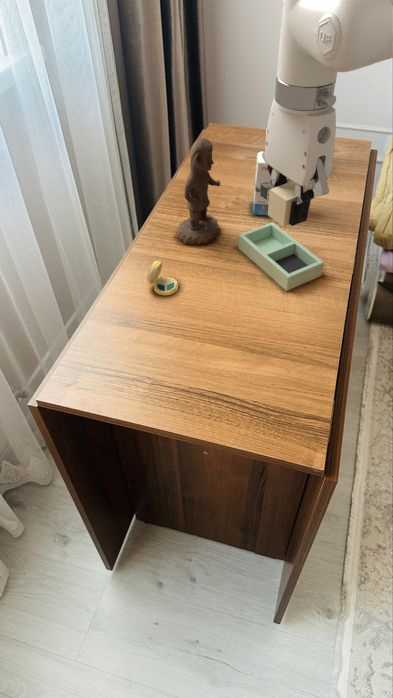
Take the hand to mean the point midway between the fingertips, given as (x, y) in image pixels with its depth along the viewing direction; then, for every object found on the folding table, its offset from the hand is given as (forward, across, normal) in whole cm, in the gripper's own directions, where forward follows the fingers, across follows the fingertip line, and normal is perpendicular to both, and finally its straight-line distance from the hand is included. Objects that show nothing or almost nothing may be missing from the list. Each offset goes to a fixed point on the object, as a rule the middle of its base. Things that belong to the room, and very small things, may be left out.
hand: (288, 214), depth 78 cm
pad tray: (+15, +7, -5) cm, 18 cm away
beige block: (0, 0, 0) cm, 0 cm away
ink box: (+16, +22, -15) cm, 31 cm away
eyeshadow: (+16, +12, +17) cm, 26 cm away
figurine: (+16, +23, +3) cm, 28 cm away
